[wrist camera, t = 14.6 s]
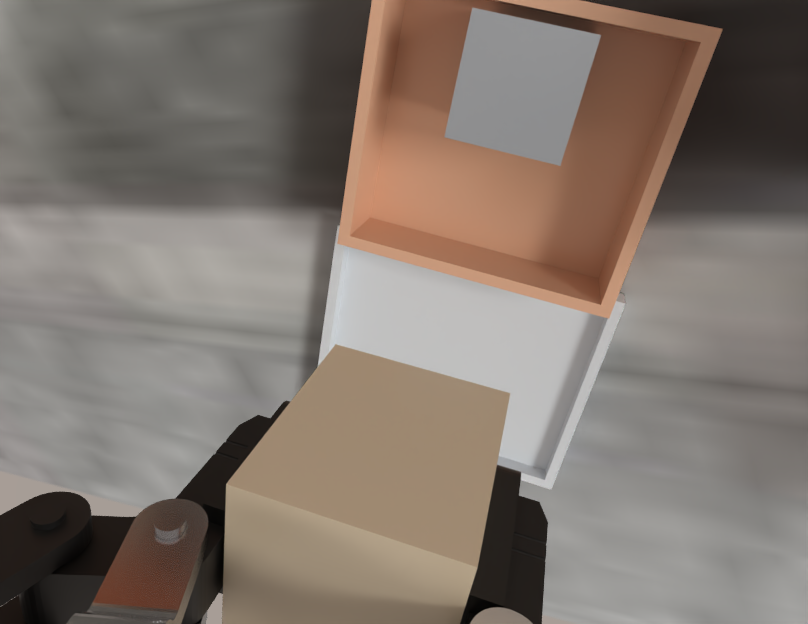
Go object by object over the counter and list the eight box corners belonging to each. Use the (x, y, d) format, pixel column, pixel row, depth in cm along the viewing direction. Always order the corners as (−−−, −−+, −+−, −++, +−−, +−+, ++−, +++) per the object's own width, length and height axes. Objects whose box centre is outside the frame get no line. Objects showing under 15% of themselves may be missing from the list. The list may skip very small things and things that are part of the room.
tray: (624, 293, 28) (626, 303, 27) (551, 475, 33) (551, 489, 32) (345, 218, 30) (337, 225, 29) (319, 401, 35) (311, 412, 34)
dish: (700, 29, 23) (722, 28, 20) (604, 283, 28) (609, 318, 25) (405, -30, 25) (377, -41, 21) (365, 219, 30) (337, 243, 26)
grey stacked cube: (596, 34, 23) (601, 35, 19) (562, 142, 25) (560, 165, 21) (491, 12, 24) (472, 7, 19) (466, 119, 26) (444, 137, 21)
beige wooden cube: (510, 393, 13) (477, 567, 9) (471, 526, 15) (428, 724, 11) (335, 344, 14) (226, 483, 10) (318, 477, 16) (221, 644, 12)
